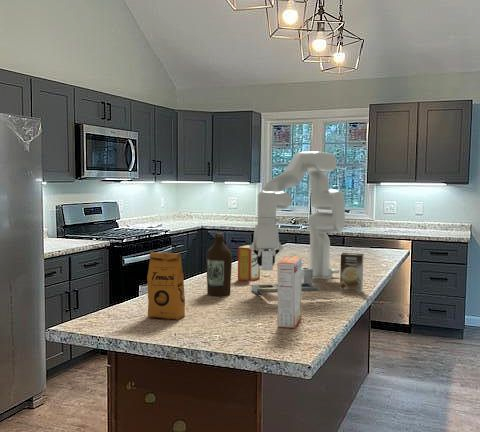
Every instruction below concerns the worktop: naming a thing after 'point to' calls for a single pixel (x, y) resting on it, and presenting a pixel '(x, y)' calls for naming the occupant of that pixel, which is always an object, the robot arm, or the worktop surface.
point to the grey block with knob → (266, 260)
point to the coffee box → (351, 271)
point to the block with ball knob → (306, 275)
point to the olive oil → (218, 268)
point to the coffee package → (165, 286)
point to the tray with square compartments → (274, 288)
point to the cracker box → (289, 292)
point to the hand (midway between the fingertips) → (265, 264)
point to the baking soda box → (247, 264)
